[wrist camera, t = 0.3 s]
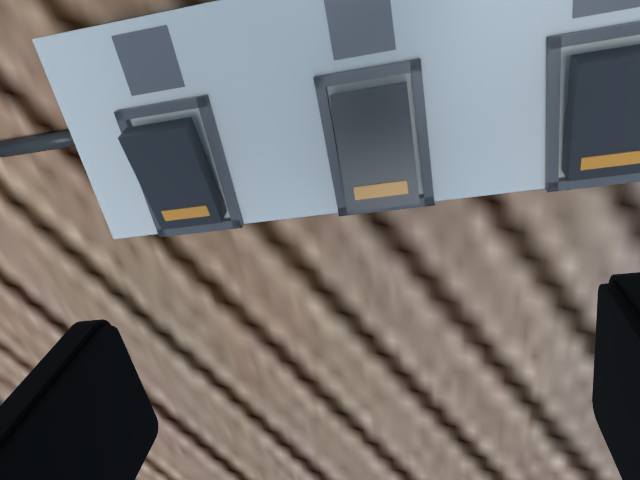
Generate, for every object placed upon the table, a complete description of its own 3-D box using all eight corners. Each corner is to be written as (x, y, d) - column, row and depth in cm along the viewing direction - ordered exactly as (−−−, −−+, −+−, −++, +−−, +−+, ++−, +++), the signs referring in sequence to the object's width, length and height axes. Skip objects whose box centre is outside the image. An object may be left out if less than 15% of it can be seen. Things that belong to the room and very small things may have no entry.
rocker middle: (332, 93, 31) (329, 95, 30) (406, 81, 31) (406, 82, 29) (349, 206, 33) (347, 212, 32) (419, 198, 33) (419, 203, 31)
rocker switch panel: (-45, 54, 38) (-98, 66, 34) (729, -107, 28) (785, -118, 24) (38, 228, 44) (2, 255, 40) (694, 145, 34) (734, 170, 30)
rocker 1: (126, 127, 33) (117, 138, 32) (191, 116, 32) (184, 127, 31) (168, 217, 37) (161, 230, 36) (226, 210, 36) (221, 223, 35)
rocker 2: (570, 55, 28) (578, 64, 27) (662, 40, 27) (675, 49, 26) (561, 169, 32) (568, 182, 31) (640, 159, 31) (651, 172, 30)
